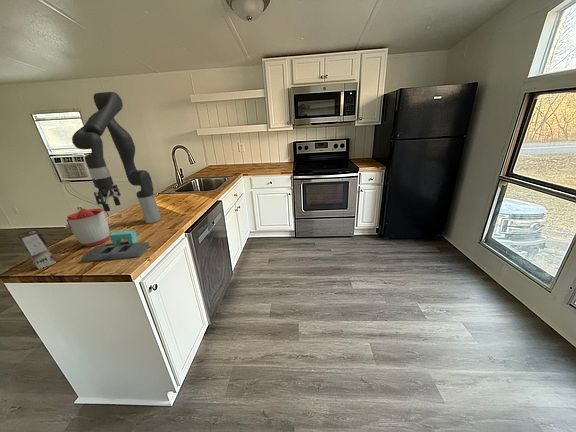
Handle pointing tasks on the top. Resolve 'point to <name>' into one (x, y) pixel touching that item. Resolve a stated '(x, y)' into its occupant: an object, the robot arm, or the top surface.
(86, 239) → the citrus juicer
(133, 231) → the teal rectangular block
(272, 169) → the top surface
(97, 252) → the grey board with holes
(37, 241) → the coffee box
